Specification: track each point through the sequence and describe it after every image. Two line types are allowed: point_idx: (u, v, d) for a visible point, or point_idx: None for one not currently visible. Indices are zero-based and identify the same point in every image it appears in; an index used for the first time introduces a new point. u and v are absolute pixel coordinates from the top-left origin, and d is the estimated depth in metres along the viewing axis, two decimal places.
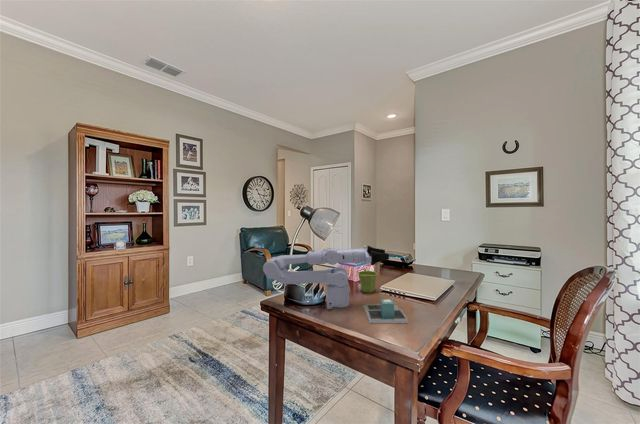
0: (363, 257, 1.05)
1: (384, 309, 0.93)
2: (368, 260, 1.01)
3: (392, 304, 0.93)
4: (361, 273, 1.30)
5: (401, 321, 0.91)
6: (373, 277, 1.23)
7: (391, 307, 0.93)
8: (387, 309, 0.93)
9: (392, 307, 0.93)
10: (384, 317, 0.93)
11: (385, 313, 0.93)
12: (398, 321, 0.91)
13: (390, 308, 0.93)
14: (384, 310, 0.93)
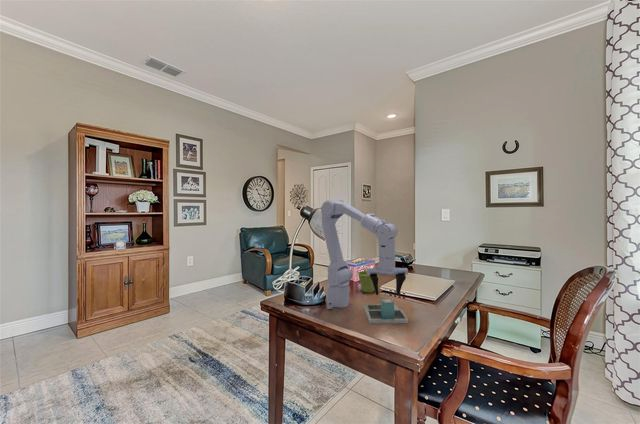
0: (379, 267, 0.95)
1: (384, 309, 0.93)
2: None
3: (392, 304, 0.93)
4: (361, 273, 1.30)
5: (401, 321, 0.91)
6: None
7: (391, 307, 0.93)
8: (387, 309, 0.93)
9: (392, 307, 0.93)
10: (384, 317, 0.93)
11: (385, 313, 0.93)
12: (398, 321, 0.91)
13: (390, 308, 0.93)
14: (384, 310, 0.93)
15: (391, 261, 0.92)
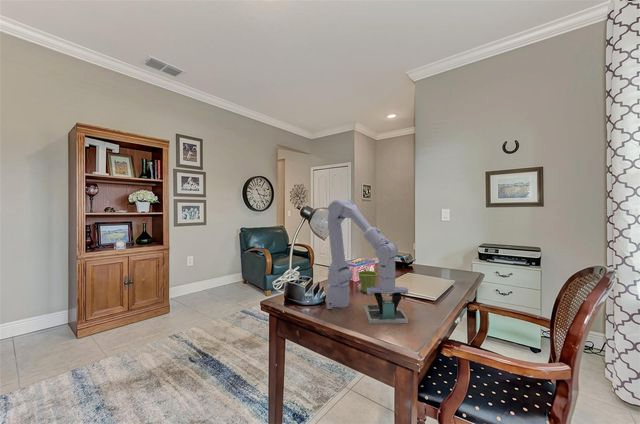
0: (379, 286, 0.95)
1: (384, 309, 0.93)
2: (367, 290, 0.95)
3: (392, 304, 0.93)
4: (361, 273, 1.30)
5: (401, 321, 0.91)
6: (373, 277, 1.23)
7: (391, 307, 0.93)
8: (387, 309, 0.93)
9: (392, 307, 0.93)
10: (384, 317, 0.93)
11: (385, 313, 0.93)
12: (398, 321, 0.91)
13: (390, 308, 0.93)
14: (384, 310, 0.93)
15: (391, 281, 0.92)
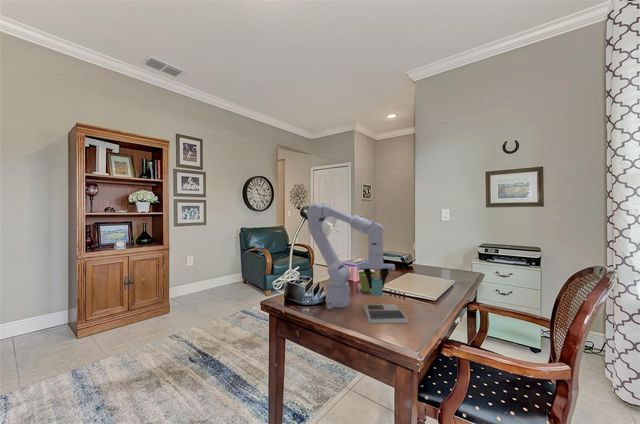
0: (368, 263, 1.03)
1: (373, 285, 1.01)
2: (357, 266, 1.03)
3: (380, 281, 1.01)
4: (361, 273, 1.30)
5: (401, 321, 0.91)
6: None
7: (380, 284, 1.01)
8: (376, 285, 1.01)
9: (381, 283, 1.01)
10: (373, 293, 1.01)
11: (374, 289, 1.01)
12: (398, 321, 0.91)
13: (378, 285, 1.01)
14: (373, 286, 1.01)
15: (379, 257, 1.00)
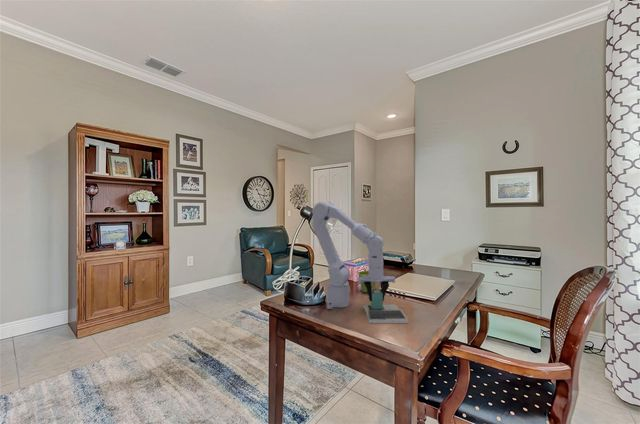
0: None
1: (373, 298, 1.01)
2: (357, 279, 1.04)
3: (381, 294, 1.01)
4: (361, 273, 1.30)
5: (401, 321, 0.91)
6: None
7: (380, 297, 1.01)
8: (376, 298, 1.01)
9: (381, 296, 1.01)
10: (373, 306, 1.01)
11: (374, 302, 1.01)
12: (398, 321, 0.91)
13: (379, 298, 1.01)
14: (373, 299, 1.01)
15: (379, 270, 1.00)
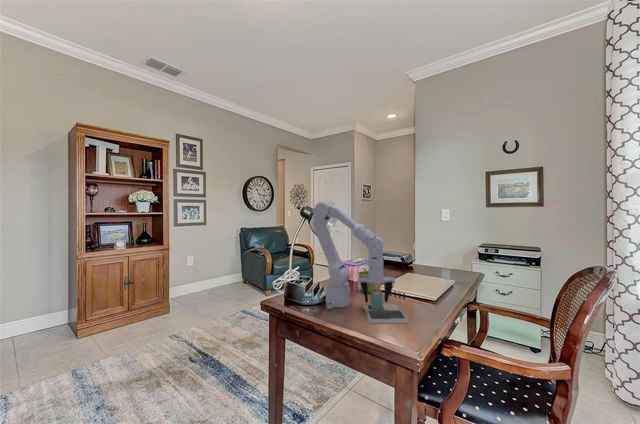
0: None
1: (373, 300, 1.01)
2: (357, 280, 1.04)
3: (380, 295, 1.01)
4: (361, 273, 1.30)
5: (401, 321, 0.91)
6: None
7: (380, 299, 1.01)
8: (376, 300, 1.01)
9: (381, 298, 1.01)
10: (373, 307, 1.01)
11: (374, 304, 1.01)
12: (398, 321, 0.91)
13: (379, 300, 1.01)
14: (373, 301, 1.01)
15: (379, 271, 1.00)
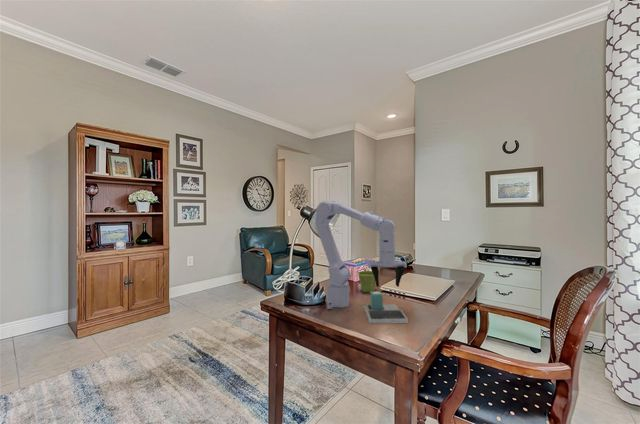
0: None
1: (373, 300, 1.01)
2: (368, 264, 1.01)
3: (380, 295, 1.01)
4: (361, 273, 1.30)
5: (401, 321, 0.91)
6: (373, 277, 1.23)
7: (380, 299, 1.01)
8: (376, 300, 1.01)
9: (381, 298, 1.01)
10: (373, 307, 1.01)
11: (374, 304, 1.01)
12: (398, 321, 0.91)
13: (379, 300, 1.01)
14: (373, 301, 1.01)
15: (391, 255, 0.98)
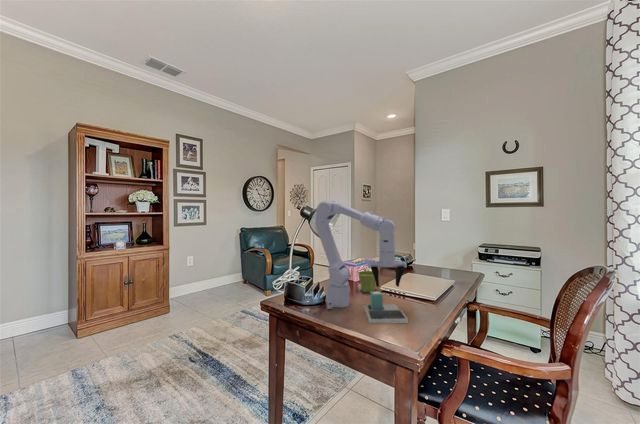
0: None
1: (373, 300, 1.01)
2: (368, 264, 1.01)
3: (380, 295, 1.01)
4: (361, 273, 1.30)
5: (401, 321, 0.91)
6: (373, 277, 1.23)
7: (380, 299, 1.01)
8: (376, 300, 1.01)
9: (381, 298, 1.01)
10: (373, 307, 1.01)
11: (374, 304, 1.01)
12: (398, 321, 0.91)
13: (379, 300, 1.01)
14: (373, 301, 1.01)
15: (391, 255, 0.98)
